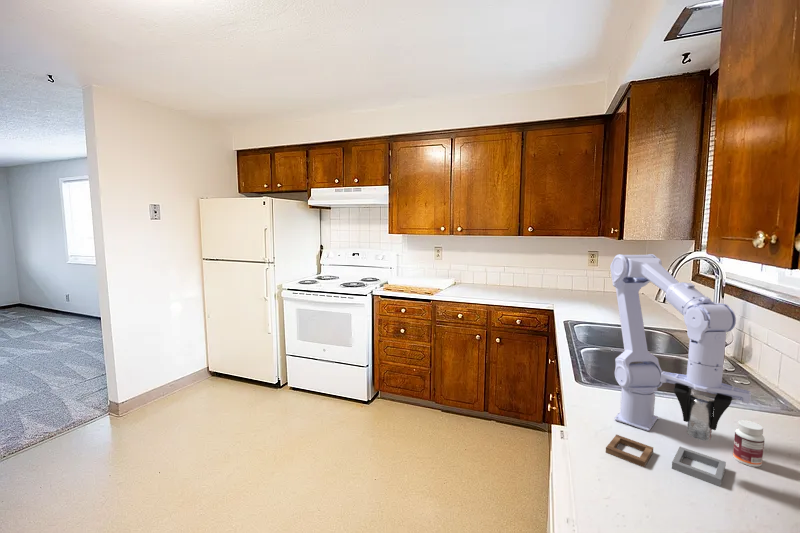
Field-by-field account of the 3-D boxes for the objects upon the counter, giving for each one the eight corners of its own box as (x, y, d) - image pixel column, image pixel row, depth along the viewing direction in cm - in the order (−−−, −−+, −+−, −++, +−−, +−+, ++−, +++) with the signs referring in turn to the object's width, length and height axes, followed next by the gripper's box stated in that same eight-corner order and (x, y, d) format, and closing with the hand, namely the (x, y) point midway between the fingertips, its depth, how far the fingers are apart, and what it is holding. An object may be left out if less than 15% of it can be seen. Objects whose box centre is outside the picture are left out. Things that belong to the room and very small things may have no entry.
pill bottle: (732, 451, 87) (735, 416, 86) (760, 459, 84) (764, 423, 83) (732, 461, 83) (736, 425, 82) (762, 470, 80) (766, 432, 79)
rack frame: (679, 452, 87) (679, 446, 86) (725, 468, 81) (725, 461, 81) (671, 468, 81) (672, 461, 81) (720, 486, 75) (721, 479, 75)
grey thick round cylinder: (688, 427, 83) (692, 392, 82) (712, 435, 80) (715, 398, 79) (685, 434, 80) (688, 398, 79) (709, 442, 77) (712, 405, 77)
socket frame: (616, 439, 92) (616, 434, 92) (653, 452, 87) (653, 447, 86) (605, 452, 87) (605, 447, 87) (644, 467, 81) (644, 462, 81)
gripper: (659, 357, 81) (654, 418, 82) (751, 376, 71) (744, 445, 72) (666, 349, 86) (662, 407, 87) (754, 366, 75) (747, 431, 77)
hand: (699, 423), depth 80 cm, fingers closed on grey thick round cylinder, 4 cm apart
